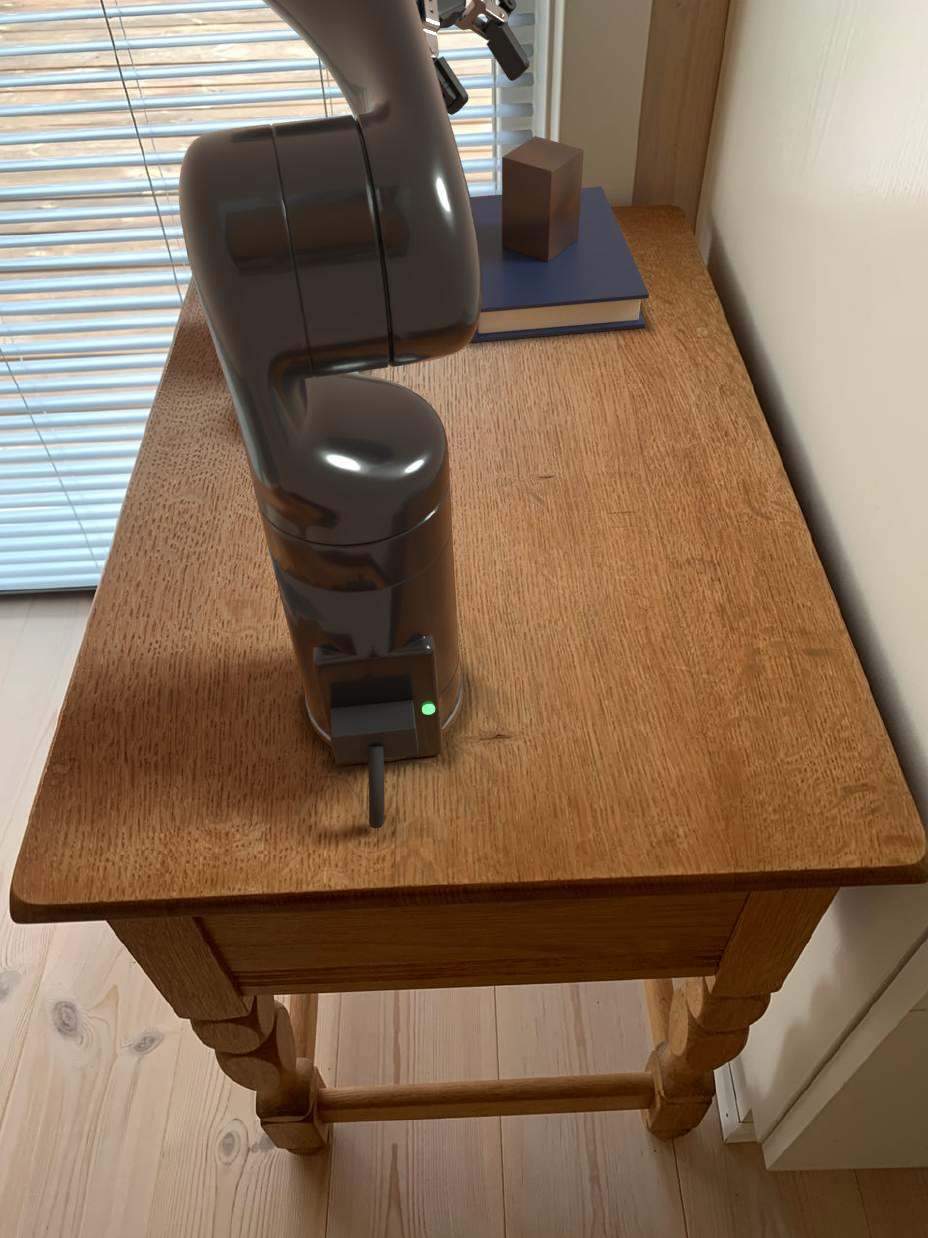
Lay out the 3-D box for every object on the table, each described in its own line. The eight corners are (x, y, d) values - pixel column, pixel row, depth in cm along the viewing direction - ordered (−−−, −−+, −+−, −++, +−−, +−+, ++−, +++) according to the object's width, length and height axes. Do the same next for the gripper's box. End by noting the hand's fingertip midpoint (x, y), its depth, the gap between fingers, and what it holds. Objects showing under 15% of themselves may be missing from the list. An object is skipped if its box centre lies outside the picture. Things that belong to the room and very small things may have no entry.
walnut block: (547, 262, 87) (551, 171, 81) (501, 246, 89) (501, 156, 83) (578, 238, 89) (584, 149, 83) (532, 224, 91) (535, 135, 85)
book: (645, 327, 85) (649, 294, 83) (470, 342, 84) (469, 309, 82) (599, 217, 98) (601, 185, 96) (448, 230, 98) (446, 198, 95)
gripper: (332, -112, 71) (465, 91, 75) (452, -152, 78) (567, 34, 82) (291, -38, 77) (415, 147, 81) (405, -82, 84) (514, 89, 88)
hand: (491, 90), depth 81 cm, fingers open, 8 cm apart
